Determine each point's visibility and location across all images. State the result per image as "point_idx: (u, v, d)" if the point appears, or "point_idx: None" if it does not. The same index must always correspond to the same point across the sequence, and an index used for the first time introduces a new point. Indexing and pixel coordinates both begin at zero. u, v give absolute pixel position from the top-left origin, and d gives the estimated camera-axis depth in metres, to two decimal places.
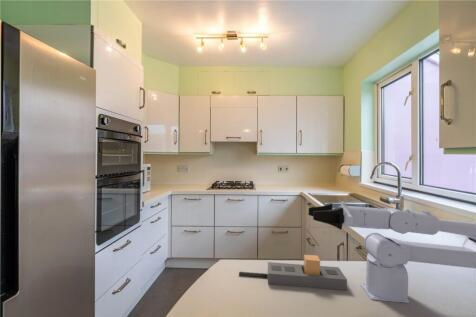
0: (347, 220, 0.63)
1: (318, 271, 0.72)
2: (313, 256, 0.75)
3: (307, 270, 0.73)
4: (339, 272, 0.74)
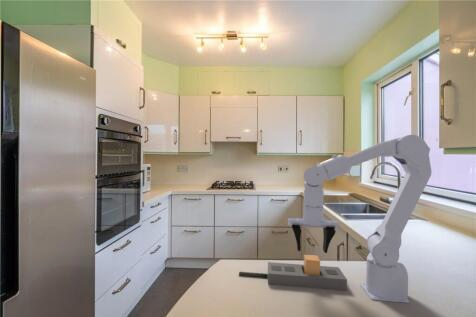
0: None
1: (318, 271, 0.72)
2: (313, 256, 0.75)
3: (307, 270, 0.73)
4: (339, 272, 0.74)
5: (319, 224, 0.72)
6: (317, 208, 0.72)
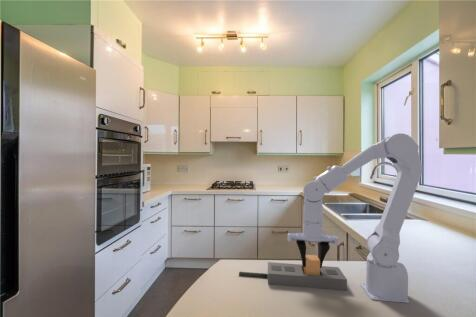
0: (288, 238, 0.75)
1: (318, 271, 0.72)
2: (313, 256, 0.75)
3: (307, 270, 0.73)
4: (339, 272, 0.74)
5: (319, 240, 0.72)
6: (317, 224, 0.72)
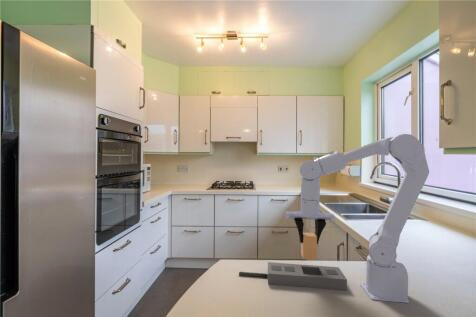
0: None
1: (315, 247, 0.75)
2: (310, 233, 0.79)
3: (304, 246, 0.76)
4: (339, 272, 0.74)
5: (316, 216, 0.75)
6: (314, 201, 0.75)
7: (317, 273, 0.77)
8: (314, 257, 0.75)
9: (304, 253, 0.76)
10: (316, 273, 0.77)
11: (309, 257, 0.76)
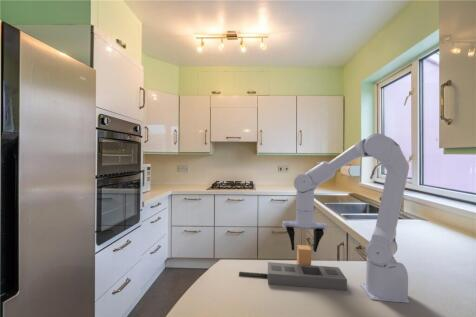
0: (283, 225, 0.84)
1: (309, 259, 0.81)
2: (305, 246, 0.84)
3: (300, 258, 0.81)
4: (339, 272, 0.74)
5: (310, 226, 0.81)
6: (308, 212, 0.81)
7: (317, 273, 0.77)
8: None
9: None
10: (316, 273, 0.77)
11: None
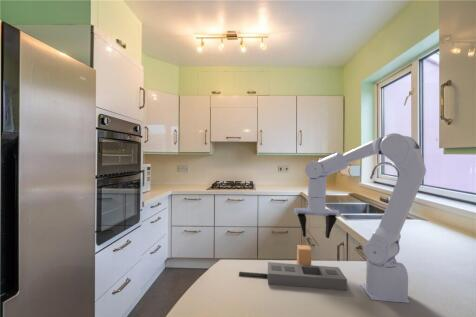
0: (295, 212, 0.85)
1: (309, 259, 0.81)
2: (305, 246, 0.84)
3: (300, 258, 0.81)
4: (339, 272, 0.74)
5: (322, 212, 0.81)
6: (320, 198, 0.81)
7: (317, 273, 0.77)
8: None
9: None
10: (316, 273, 0.77)
11: None
